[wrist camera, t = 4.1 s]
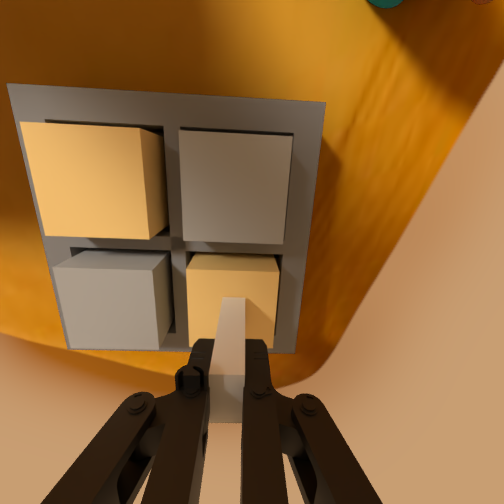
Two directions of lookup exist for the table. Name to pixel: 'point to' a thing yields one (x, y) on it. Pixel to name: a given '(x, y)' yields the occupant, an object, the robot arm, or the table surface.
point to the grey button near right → (234, 186)
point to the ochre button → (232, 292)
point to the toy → (393, 0)
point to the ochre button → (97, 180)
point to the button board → (171, 237)
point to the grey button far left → (116, 298)
